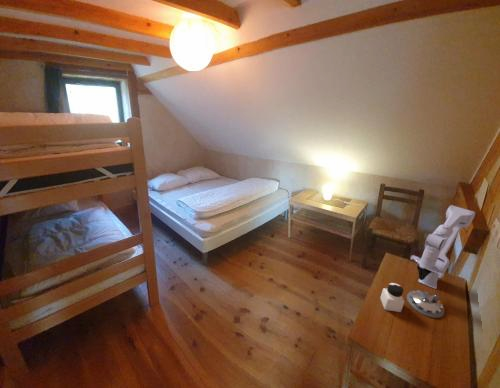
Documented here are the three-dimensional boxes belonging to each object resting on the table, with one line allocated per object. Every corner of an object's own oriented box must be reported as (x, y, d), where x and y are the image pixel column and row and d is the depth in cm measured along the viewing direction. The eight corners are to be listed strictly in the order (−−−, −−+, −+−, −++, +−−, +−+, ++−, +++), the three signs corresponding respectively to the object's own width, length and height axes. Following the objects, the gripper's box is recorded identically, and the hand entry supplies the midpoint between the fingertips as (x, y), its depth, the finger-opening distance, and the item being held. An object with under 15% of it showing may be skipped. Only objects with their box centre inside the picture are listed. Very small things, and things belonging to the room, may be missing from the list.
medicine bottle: (401, 312, 108) (407, 293, 103) (384, 310, 109) (390, 291, 104) (395, 300, 114) (401, 282, 109) (379, 298, 116) (385, 280, 111)
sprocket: (431, 292, 117) (434, 285, 114) (448, 315, 105) (452, 307, 103) (404, 290, 118) (407, 283, 116) (418, 312, 106) (421, 304, 104)
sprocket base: (408, 287, 122) (409, 285, 121) (444, 302, 113) (445, 300, 112) (404, 306, 111) (404, 304, 110) (443, 324, 102) (444, 322, 102)
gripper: (409, 250, 114) (402, 271, 120) (440, 269, 102) (431, 291, 107) (419, 246, 116) (411, 267, 122) (450, 265, 104) (440, 287, 109)
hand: (421, 278), depth 115 cm, fingers closed
